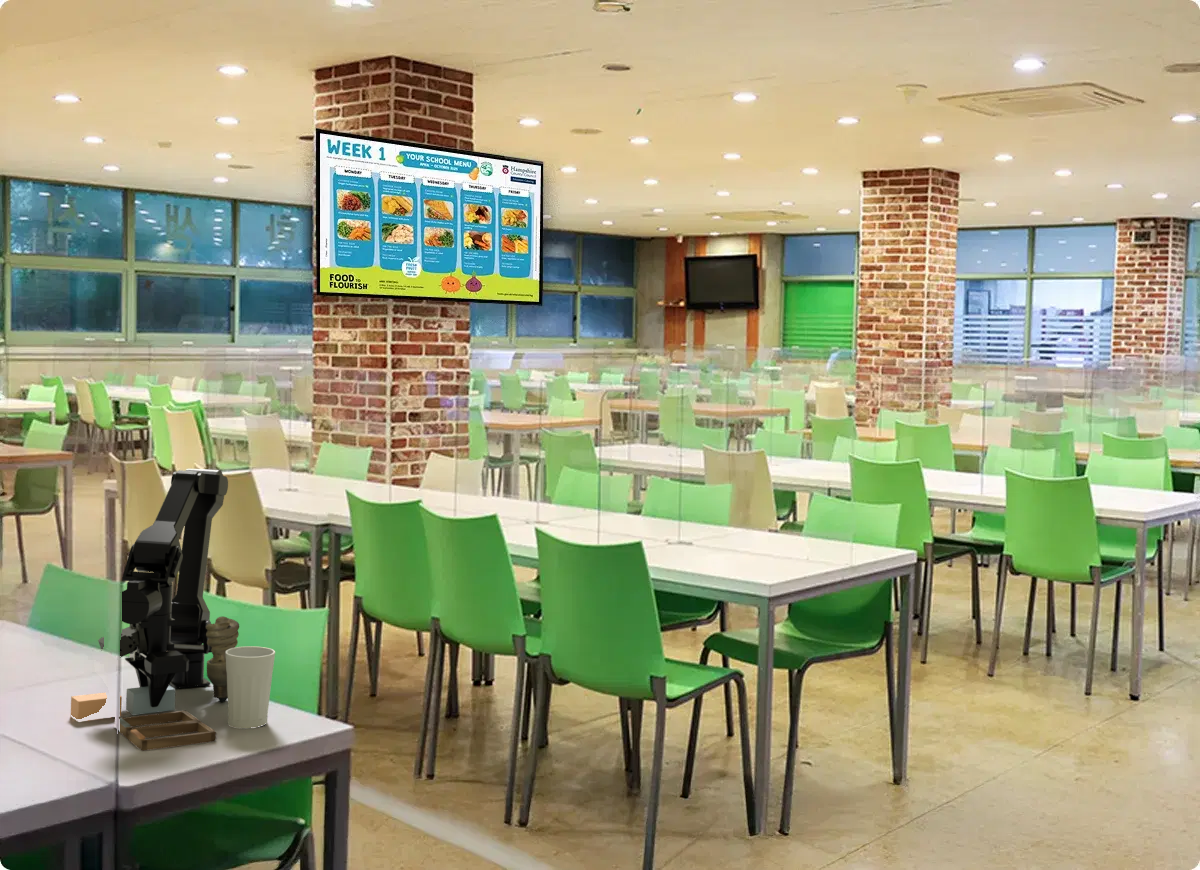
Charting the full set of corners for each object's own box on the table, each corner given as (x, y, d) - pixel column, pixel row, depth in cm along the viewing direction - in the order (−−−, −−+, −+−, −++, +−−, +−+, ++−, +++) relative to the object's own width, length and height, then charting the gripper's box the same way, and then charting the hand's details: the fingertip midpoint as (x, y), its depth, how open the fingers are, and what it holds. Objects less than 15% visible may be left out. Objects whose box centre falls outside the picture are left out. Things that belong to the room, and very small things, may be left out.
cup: (259, 732, 218) (262, 659, 217) (213, 726, 220) (216, 654, 219) (280, 719, 226) (283, 649, 225) (236, 714, 228) (239, 644, 227)
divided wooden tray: (113, 727, 216) (114, 716, 216) (185, 719, 223) (185, 708, 223) (141, 750, 205) (142, 739, 205) (215, 741, 212) (216, 729, 212)
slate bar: (125, 709, 226) (126, 688, 226) (167, 705, 231) (167, 684, 230) (133, 715, 223) (133, 693, 223) (174, 710, 228) (175, 689, 228)
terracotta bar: (70, 717, 221) (71, 696, 221) (113, 712, 225) (114, 691, 225) (77, 723, 218) (78, 701, 218) (120, 718, 223) (121, 696, 222)
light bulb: (219, 707, 231) (222, 621, 230) (196, 701, 234) (199, 616, 233) (243, 701, 236) (246, 616, 235) (220, 695, 239) (223, 611, 238)
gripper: (88, 605, 229) (85, 696, 230) (122, 627, 214) (119, 723, 215) (153, 601, 235) (150, 689, 236) (191, 621, 220) (187, 715, 221)
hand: (150, 703), depth 227 cm, fingers closed on slate bar, 4 cm apart
